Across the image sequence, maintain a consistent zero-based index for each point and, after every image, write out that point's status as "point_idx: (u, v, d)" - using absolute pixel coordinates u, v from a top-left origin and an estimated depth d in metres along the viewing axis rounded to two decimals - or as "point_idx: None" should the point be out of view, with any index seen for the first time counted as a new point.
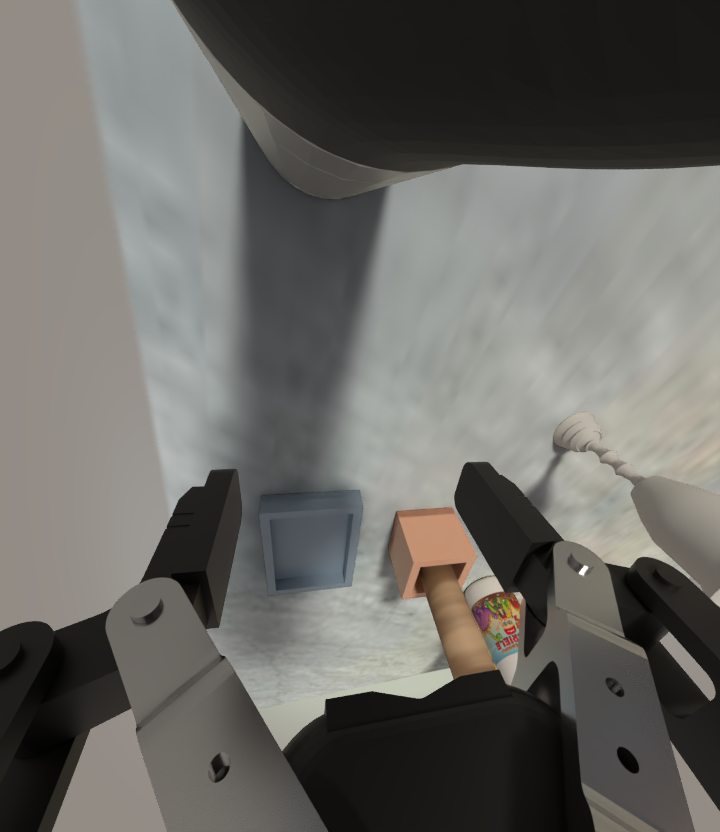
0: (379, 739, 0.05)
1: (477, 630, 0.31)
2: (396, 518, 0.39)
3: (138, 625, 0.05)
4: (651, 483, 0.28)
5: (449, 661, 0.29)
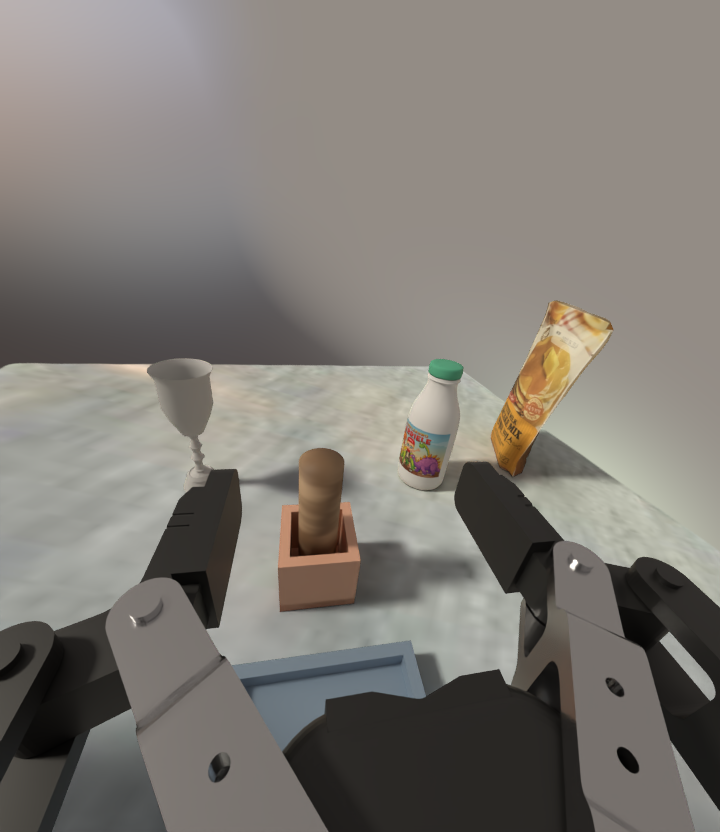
0: (379, 739, 0.05)
1: None
2: (288, 608, 0.31)
3: (138, 625, 0.05)
4: (179, 430, 0.40)
5: (322, 486, 0.26)
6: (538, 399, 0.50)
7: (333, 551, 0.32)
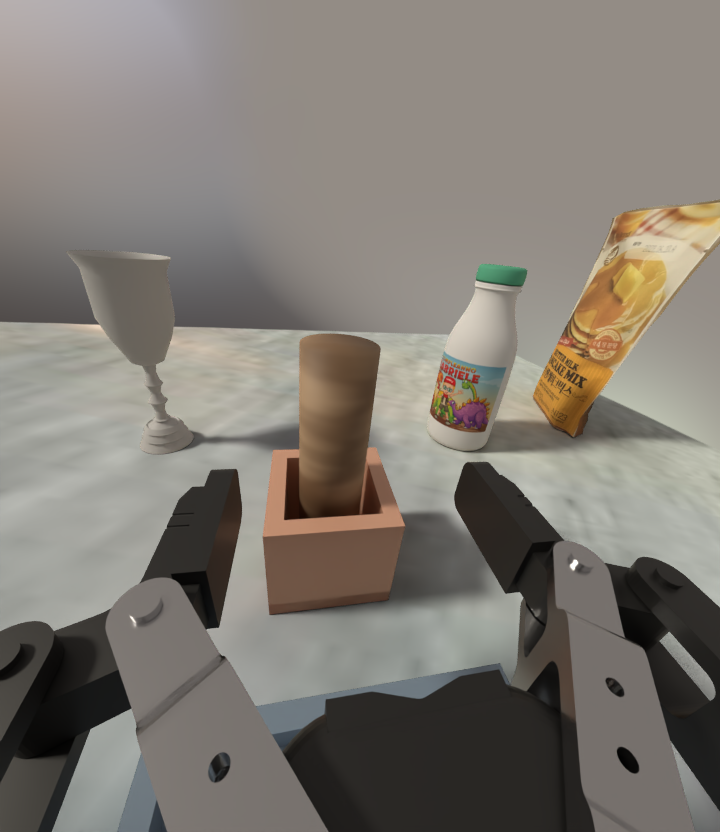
0: (379, 739, 0.05)
1: None
2: (283, 609, 0.19)
3: (138, 625, 0.05)
4: (125, 355, 0.28)
5: (344, 381, 0.14)
6: (613, 330, 0.38)
7: None
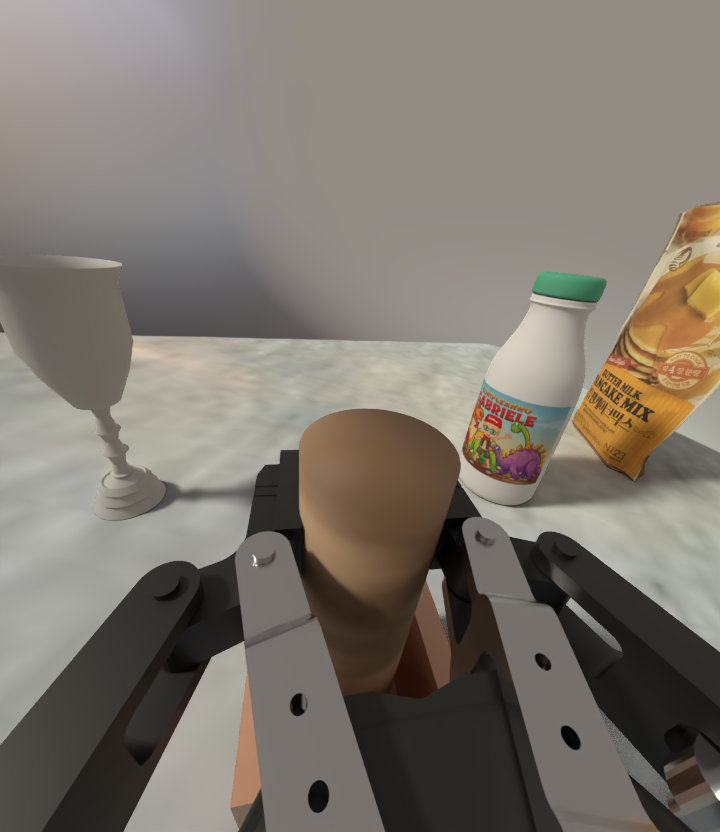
0: (379, 739, 0.05)
1: None
2: None
3: (263, 565, 0.07)
4: (63, 398, 0.20)
5: (393, 543, 0.07)
6: (694, 353, 0.30)
7: (390, 687, 0.12)
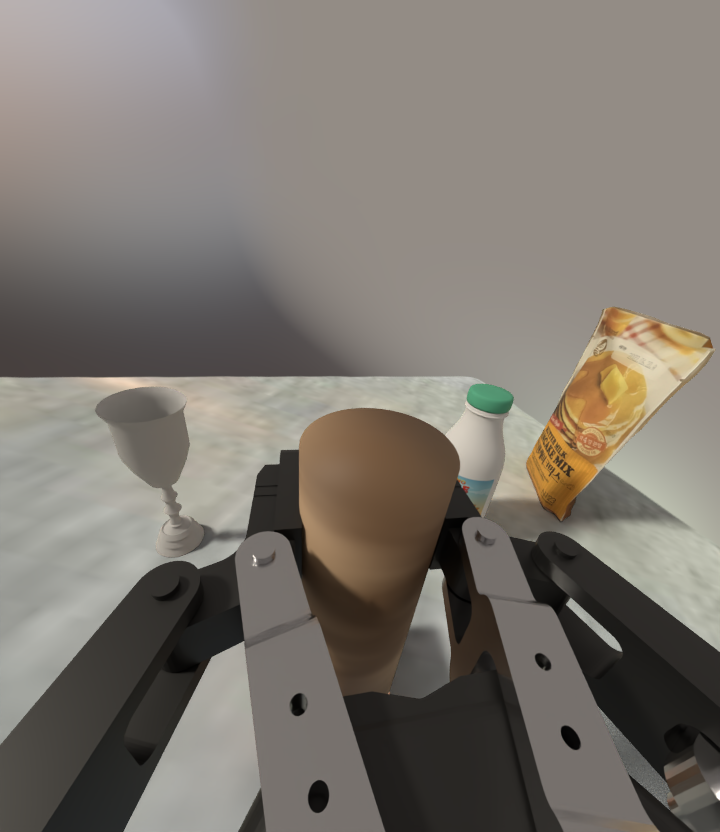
0: (379, 739, 0.05)
1: None
2: None
3: (262, 565, 0.07)
4: (145, 481, 0.31)
5: (393, 542, 0.07)
6: (598, 430, 0.40)
7: (390, 686, 0.12)
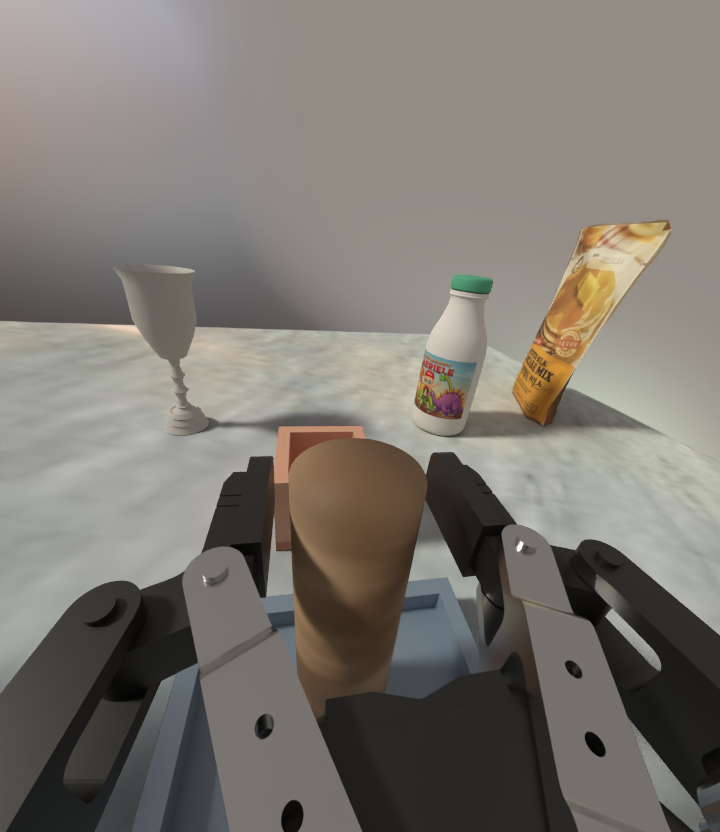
0: (379, 739, 0.05)
1: None
2: (287, 546, 0.25)
3: (211, 585, 0.06)
4: (155, 351, 0.33)
5: (368, 557, 0.08)
6: (574, 331, 0.43)
7: None
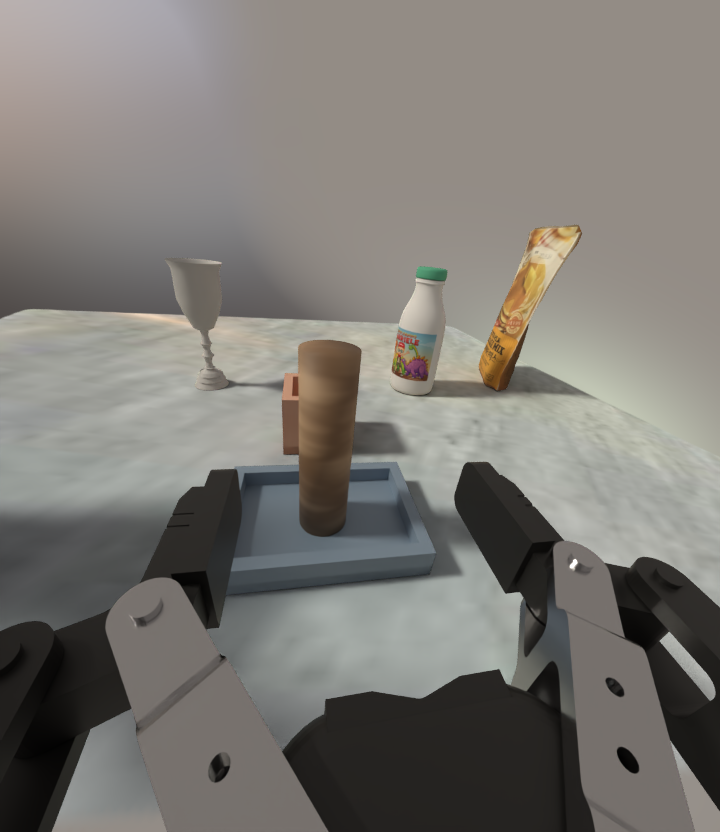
0: (379, 739, 0.05)
1: None
2: (291, 451, 0.36)
3: (138, 625, 0.05)
4: (191, 323, 0.45)
5: (332, 377, 0.19)
6: (518, 312, 0.54)
7: (345, 489, 0.24)
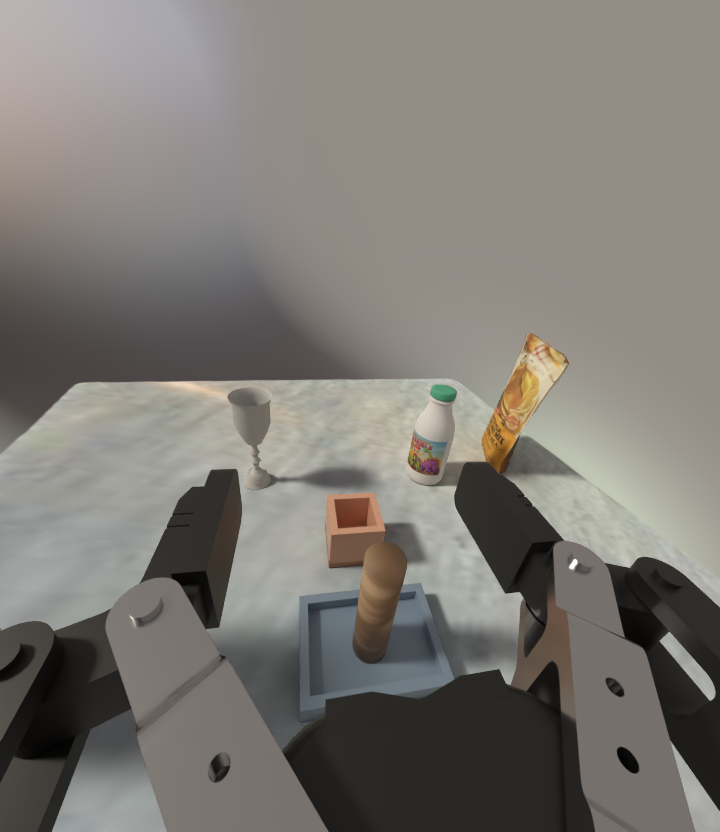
0: (379, 739, 0.05)
1: None
2: (334, 565, 0.45)
3: (138, 625, 0.05)
4: (245, 441, 0.54)
5: (389, 587, 0.28)
6: (516, 413, 0.64)
7: (389, 633, 0.33)
